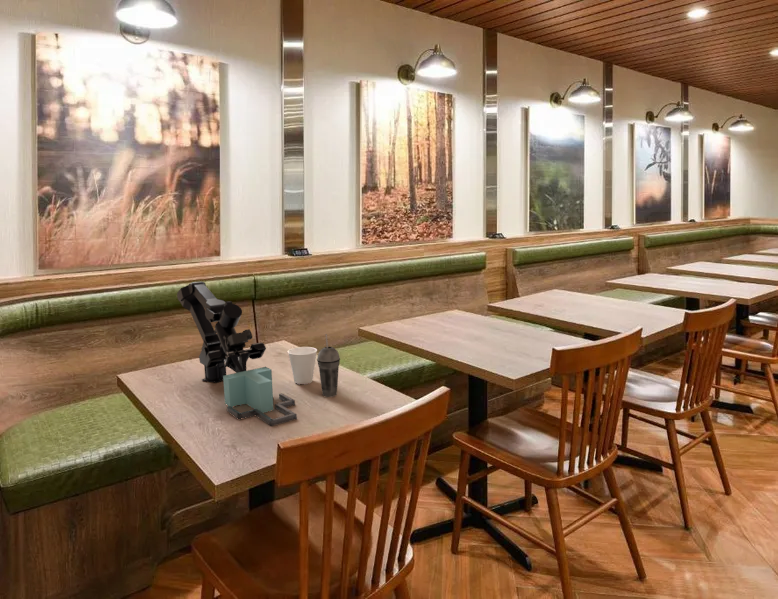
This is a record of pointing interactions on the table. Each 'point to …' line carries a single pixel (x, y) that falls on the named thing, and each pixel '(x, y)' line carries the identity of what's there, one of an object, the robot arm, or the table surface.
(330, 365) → the beverage cup
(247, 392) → the t block
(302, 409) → the table surface
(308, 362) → the cup
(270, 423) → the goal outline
